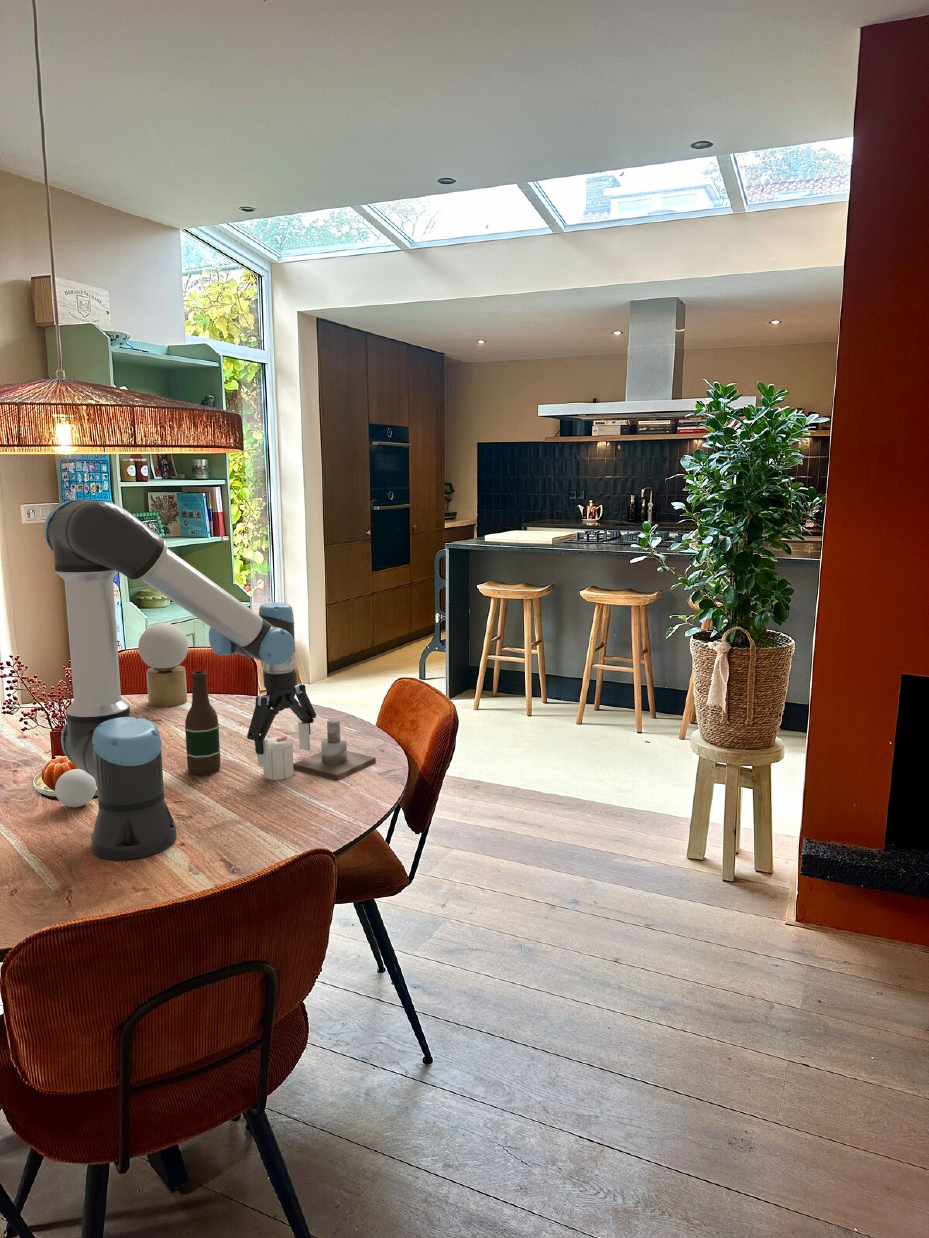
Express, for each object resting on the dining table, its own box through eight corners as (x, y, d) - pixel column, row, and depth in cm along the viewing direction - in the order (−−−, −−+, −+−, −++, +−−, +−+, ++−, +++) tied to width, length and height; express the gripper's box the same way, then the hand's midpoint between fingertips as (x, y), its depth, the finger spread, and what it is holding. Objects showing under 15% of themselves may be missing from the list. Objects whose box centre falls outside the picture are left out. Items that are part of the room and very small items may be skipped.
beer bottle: (211, 777, 195) (205, 676, 191) (181, 774, 197) (174, 675, 193) (227, 765, 203) (222, 668, 199) (197, 763, 205) (192, 667, 200)
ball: (52, 815, 174) (48, 778, 173) (61, 800, 182) (58, 765, 181) (93, 811, 176) (90, 775, 175) (101, 797, 184) (98, 762, 182)
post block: (337, 779, 194) (336, 733, 192) (292, 768, 201) (291, 724, 199) (375, 762, 205) (374, 718, 203) (332, 752, 213) (330, 709, 211)
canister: (278, 781, 192) (277, 745, 191) (257, 776, 196) (255, 740, 195) (299, 772, 198) (298, 737, 197) (278, 767, 202) (277, 732, 200)
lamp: (189, 709, 251) (184, 626, 246) (139, 712, 248) (133, 628, 243) (193, 696, 265) (188, 617, 261) (146, 698, 262) (140, 619, 258)
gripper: (250, 684, 182) (256, 777, 186) (328, 660, 202) (332, 744, 206) (226, 680, 186) (233, 771, 190) (305, 657, 206) (309, 739, 210)
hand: (284, 757), depth 198 cm, fingers open, 13 cm apart
